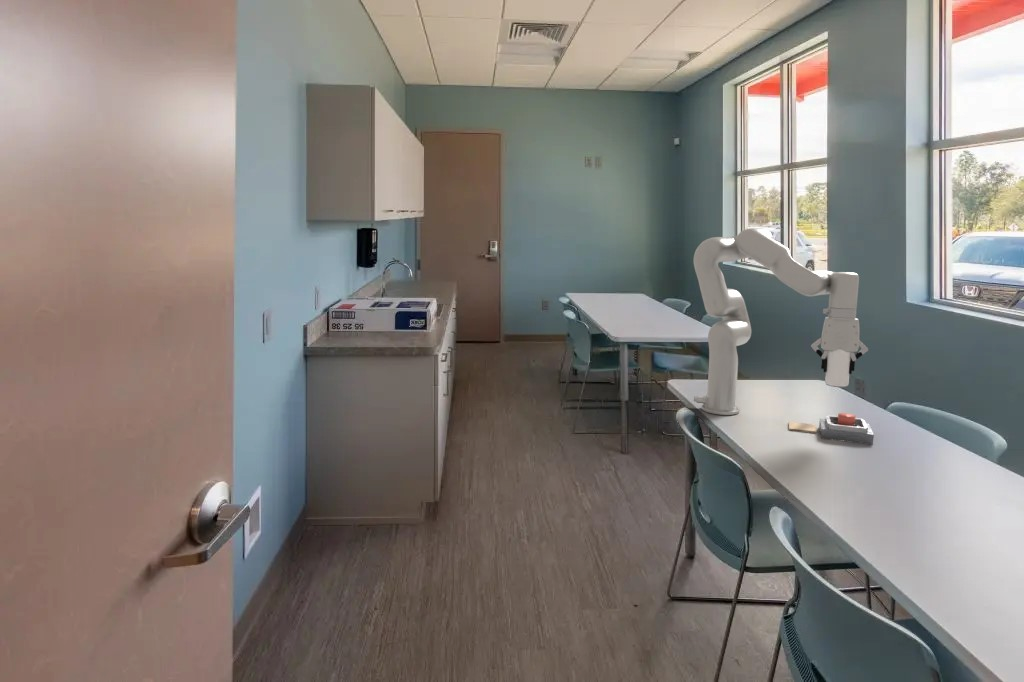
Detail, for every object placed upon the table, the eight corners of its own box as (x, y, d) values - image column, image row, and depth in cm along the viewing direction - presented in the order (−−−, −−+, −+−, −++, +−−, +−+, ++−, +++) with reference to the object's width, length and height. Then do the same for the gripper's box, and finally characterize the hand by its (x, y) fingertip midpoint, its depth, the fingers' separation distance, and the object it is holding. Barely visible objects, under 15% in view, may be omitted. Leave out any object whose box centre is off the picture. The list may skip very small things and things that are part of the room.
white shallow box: (821, 438, 202) (822, 424, 201) (818, 427, 213) (820, 414, 212) (872, 444, 197) (874, 429, 196) (868, 432, 208) (869, 419, 207)
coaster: (788, 430, 210) (789, 428, 210) (788, 423, 217) (788, 421, 217) (816, 433, 207) (816, 431, 207) (815, 426, 214) (815, 424, 214)
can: (843, 382, 205) (846, 344, 203) (851, 387, 199) (855, 348, 197) (821, 382, 206) (824, 344, 204) (829, 387, 200) (832, 347, 198)
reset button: (837, 425, 203) (838, 416, 202) (836, 421, 207) (837, 412, 207) (855, 427, 201) (856, 418, 201) (853, 423, 206) (854, 414, 205)
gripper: (810, 313, 199) (806, 372, 202) (876, 316, 192) (870, 377, 195) (810, 310, 206) (806, 367, 209) (873, 313, 199) (868, 372, 202)
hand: (837, 371), depth 202 cm, fingers closed on can, 6 cm apart
